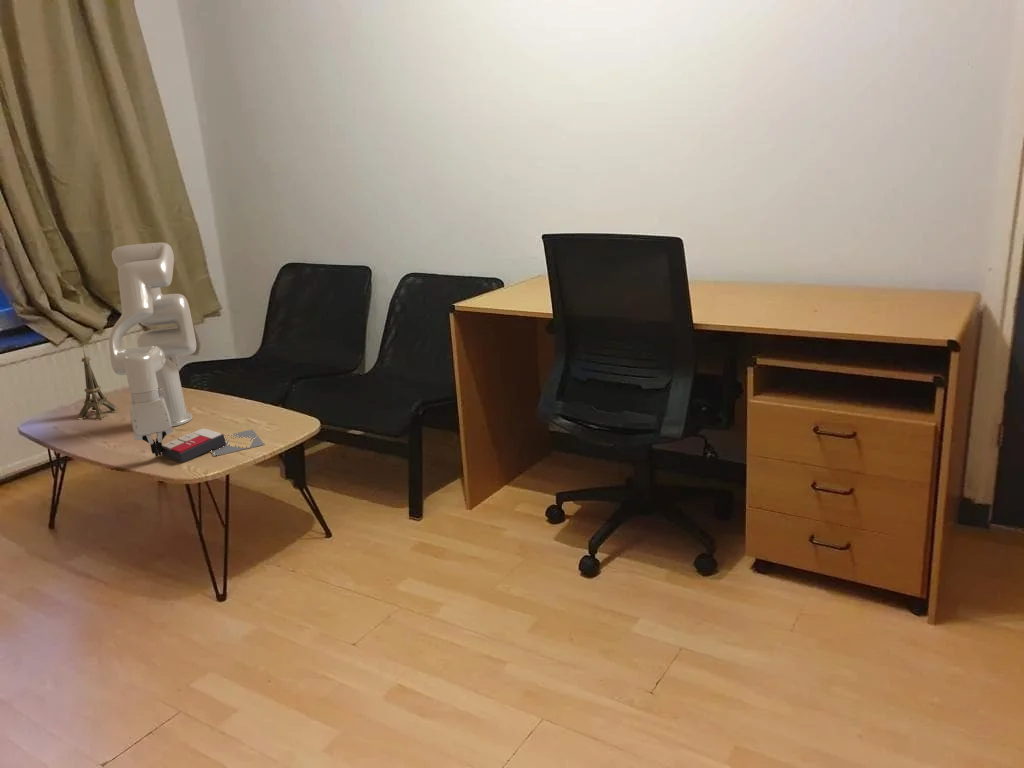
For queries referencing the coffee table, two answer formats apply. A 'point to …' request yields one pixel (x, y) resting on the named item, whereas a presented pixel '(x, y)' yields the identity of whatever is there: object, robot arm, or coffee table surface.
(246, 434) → the desk mat
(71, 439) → the coffee table surface
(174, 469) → the coffee table surface
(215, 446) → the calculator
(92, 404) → the eiffel tower
